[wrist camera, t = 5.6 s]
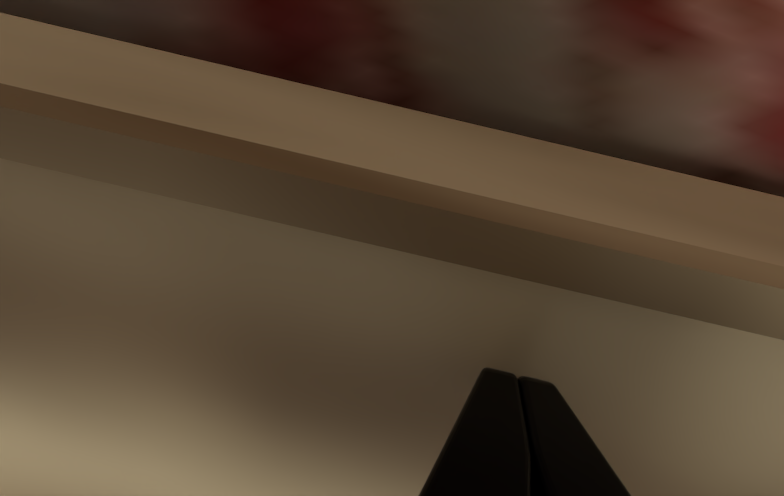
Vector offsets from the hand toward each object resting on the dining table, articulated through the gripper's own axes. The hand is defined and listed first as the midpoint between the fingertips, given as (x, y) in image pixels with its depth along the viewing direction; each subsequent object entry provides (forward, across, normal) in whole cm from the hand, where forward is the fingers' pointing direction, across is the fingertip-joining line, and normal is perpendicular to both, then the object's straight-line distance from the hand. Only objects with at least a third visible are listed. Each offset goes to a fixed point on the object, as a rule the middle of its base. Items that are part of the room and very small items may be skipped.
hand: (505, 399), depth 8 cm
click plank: (+2, +2, +1) cm, 3 cm away
